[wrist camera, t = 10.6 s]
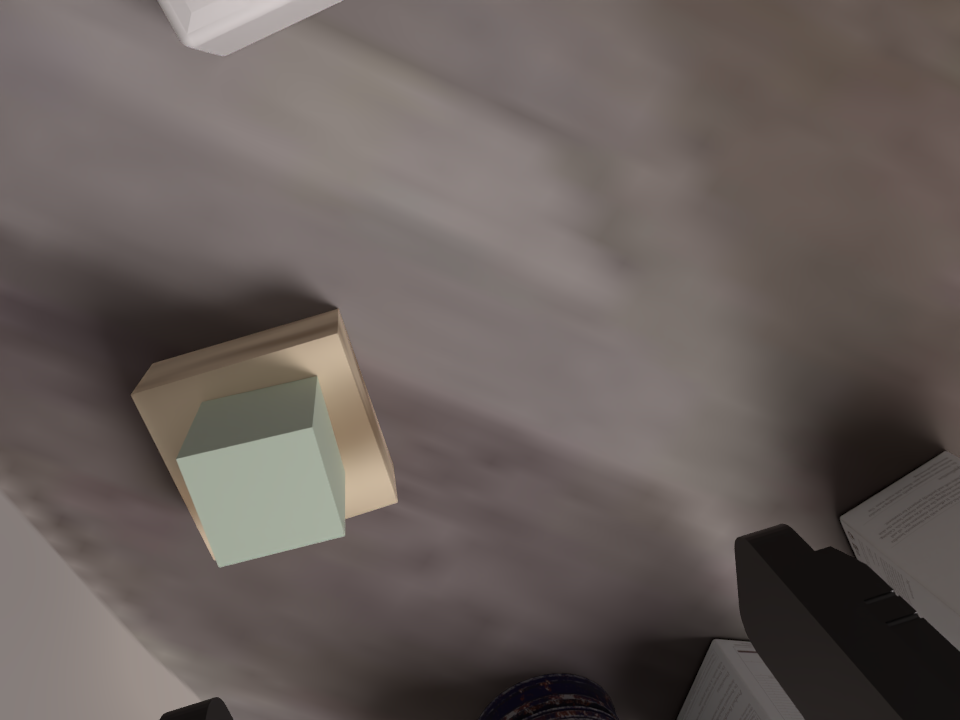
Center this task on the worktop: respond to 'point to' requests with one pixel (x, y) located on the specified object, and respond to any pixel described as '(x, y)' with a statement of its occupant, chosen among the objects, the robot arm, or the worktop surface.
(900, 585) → the skincare box
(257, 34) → the medicine bottle
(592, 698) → the storage jar
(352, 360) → the maple box
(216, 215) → the worktop surface
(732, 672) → the supplement box
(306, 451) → the sage cube
